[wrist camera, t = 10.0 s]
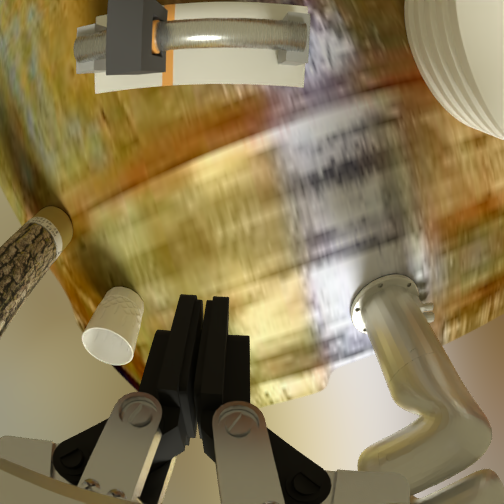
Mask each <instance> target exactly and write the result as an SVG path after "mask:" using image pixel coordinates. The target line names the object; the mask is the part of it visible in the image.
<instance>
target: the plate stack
mask: <svg viewBox="0 0 504 504" xmlns="http://www.w3.org/2000/svg"><path fill="white" fill-rule="evenodd" d="M404 16H405V26H406V32H407V37H408V41H409V45H410V48H411V51H412V54H413V57H414V60H415V62H416V65H417V67H418V69H419V71H420V73H421V75H422V77H423V79H424V81H425V83H426V84H427V86H428V88H429V89H430V91H431V92H432V94H433V95H434V96H435V98H436V99H437V100H438V102H439V103H440V104H441V105H442V106H443V107H444V108H445V109H446V110H447V111H448V112H449V113H450V114H451V115H452V116H453V117H455V118H456V119H457V120H459V121H460V122H462V123H463V124H465V125H467V126H469V127H471V128H474V129H477V130H479V131H482V132H484V133H487V134H490V135H492V136H494V137H497V138H499V139H502V140H504V0H405V4H404Z"/></svg>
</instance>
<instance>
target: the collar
mask: <svg viewBox="0 0 504 504" xmlns="http://www.w3.org/2000/svg"><path fill="white" fill-rule="evenodd" d="M167 15H168V10H167V9H165V8H164V7H163V6H162V5H161V4H160V3H159V2H157V1H156V0H108V11H107V30H106V75H141V74H150V73H162V72H166V51H160V53H157V54H152V27H153V20H159V21H160V22H161V21H167Z"/></svg>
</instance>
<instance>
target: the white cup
mask: <svg viewBox="0 0 504 504" xmlns="http://www.w3.org/2000/svg"><path fill="white" fill-rule="evenodd" d="M143 311H144V305H143V301H142V299H141V298H140V296H139V295H138V294H137V293H135V292H134V291H133V290H131V289H129V288H125V287H113V288H112V289H110V290H109V291H107V293H106V295H105V297H104V298H103V300H102V301H101V303H100V304H99V306H98V307H97V309H96V311H95V312H94V314H93V316H92V318H91V319H90V321H89V323H88V325H87V327H86V329H85V330H84V332H83V334H82V343H83V345H84V347H85V348H86V350H87V351H88V352H89V353H90V354H91V355H92V356H93V357H95V358H96V359H98V360H100V361H102V362H104V363H107V364H111V365H124V364H127V363H129V362H130V361H131V360H132V358H133V355H134V350H135V346H136V342H137V338H138V334H139V329H140V325H141V318H142V315H143Z"/></svg>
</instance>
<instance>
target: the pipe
mask: <svg viewBox="0 0 504 504" xmlns="http://www.w3.org/2000/svg"><path fill="white" fill-rule="evenodd" d="M306 42H307V25H306V23H304V22H296V21H286V20H273V19H256V18H200V19H183V20H171V21H161V22H157V23H156V25H155V29H154V44H155V48H156V50H157V51H168V50H182V49H203V48H249V49H270V50H284V51H296V52H304V50H305V47H306ZM74 56H75V59H76V61H77V62H78V63H85V62H90V61H95V60H101V59H106V30H103V31H99V32H94V33H90V34H86V35H81V36H78V37H77V39H76V40H75V43H74Z"/></svg>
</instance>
